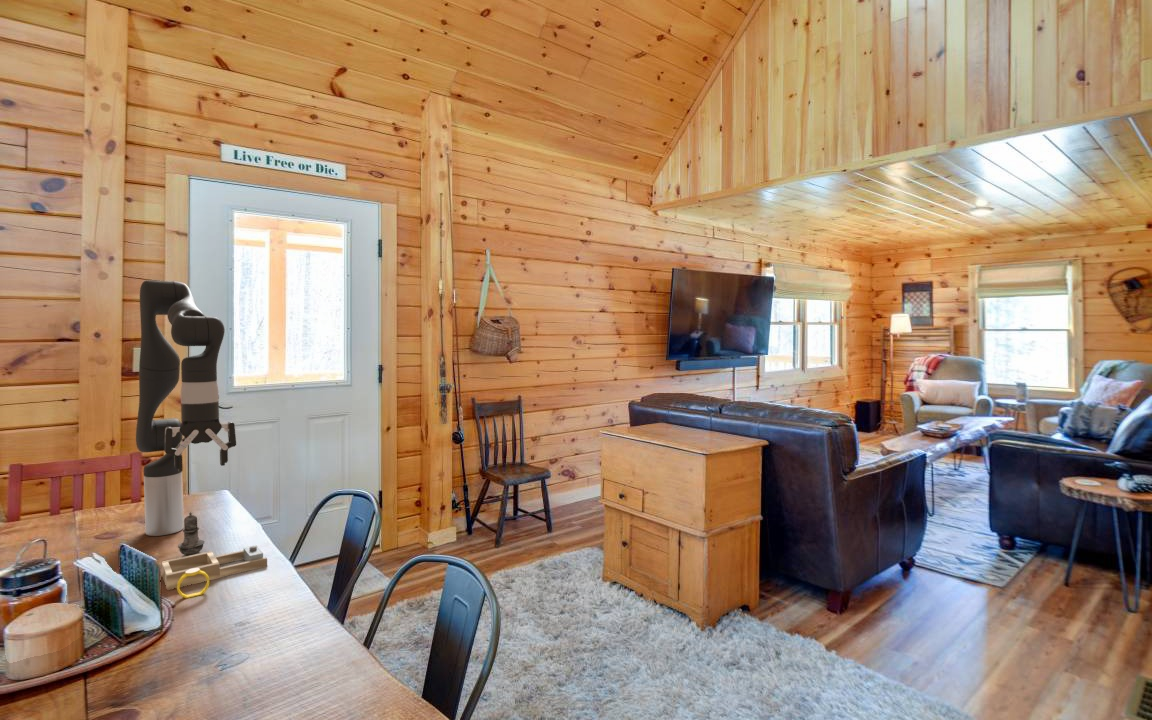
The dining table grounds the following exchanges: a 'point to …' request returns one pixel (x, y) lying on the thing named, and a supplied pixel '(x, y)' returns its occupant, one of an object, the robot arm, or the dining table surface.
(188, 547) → the dark stupa figurine
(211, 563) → the holder
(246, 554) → the cover
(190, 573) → the watch
